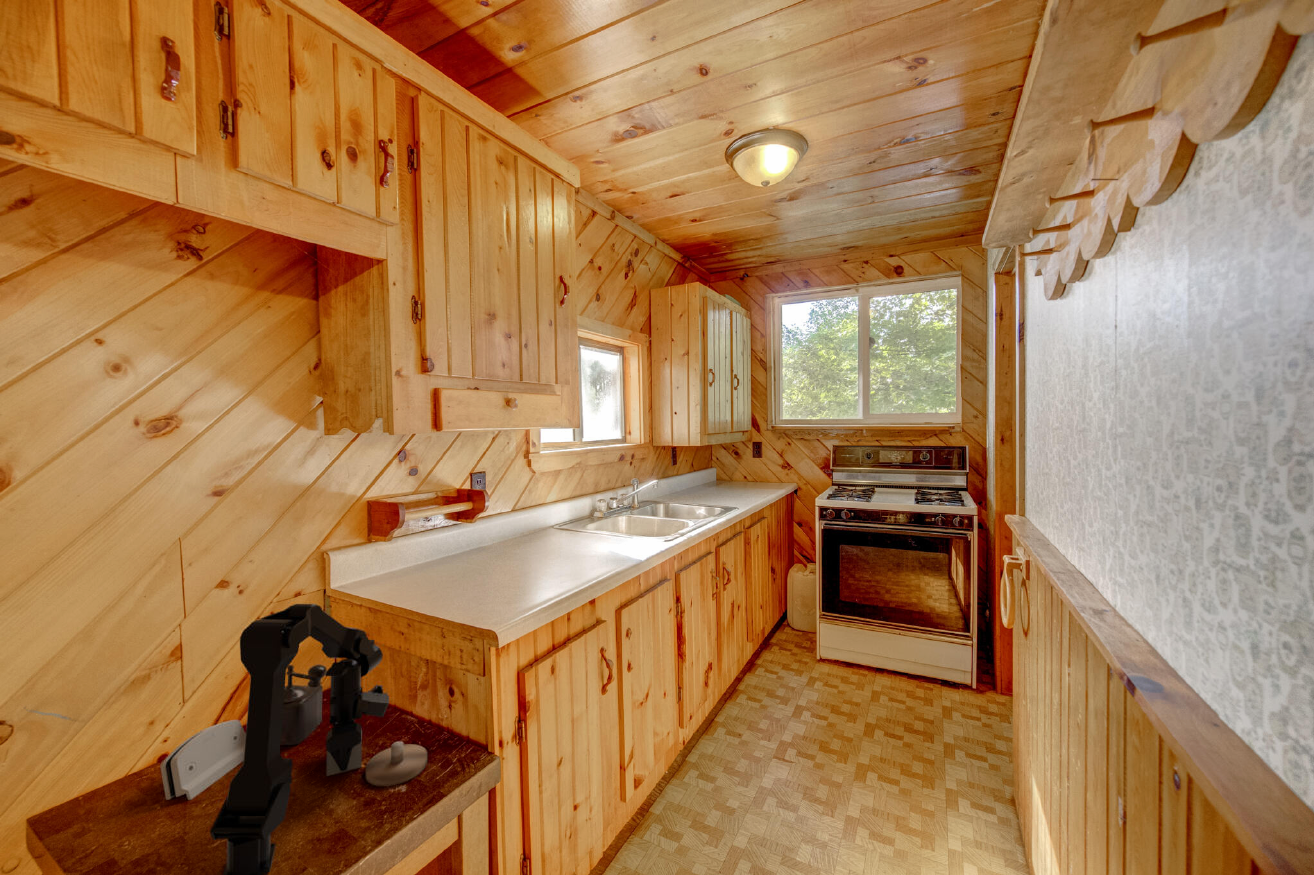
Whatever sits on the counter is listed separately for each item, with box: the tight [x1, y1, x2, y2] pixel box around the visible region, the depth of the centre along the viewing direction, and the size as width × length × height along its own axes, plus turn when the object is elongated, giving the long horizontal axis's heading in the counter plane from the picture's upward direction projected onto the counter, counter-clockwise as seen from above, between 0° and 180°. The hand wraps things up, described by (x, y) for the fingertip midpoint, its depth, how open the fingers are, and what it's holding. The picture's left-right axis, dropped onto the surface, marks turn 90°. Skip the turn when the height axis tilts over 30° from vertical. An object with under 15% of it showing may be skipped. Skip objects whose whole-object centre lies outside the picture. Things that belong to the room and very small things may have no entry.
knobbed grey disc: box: [365, 741, 428, 787], centre depth 112 cm, size 12×12×5 cm
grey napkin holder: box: [160, 719, 246, 801], centre depth 110 cm, size 17×5×10 cm, turn 178°
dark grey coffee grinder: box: [280, 664, 328, 746], centre depth 124 cm, size 16×11×18 cm
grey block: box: [326, 729, 363, 777], centre depth 113 cm, size 6×6×5 cm
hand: (344, 758), depth 113 cm, fingers open, 9 cm apart
